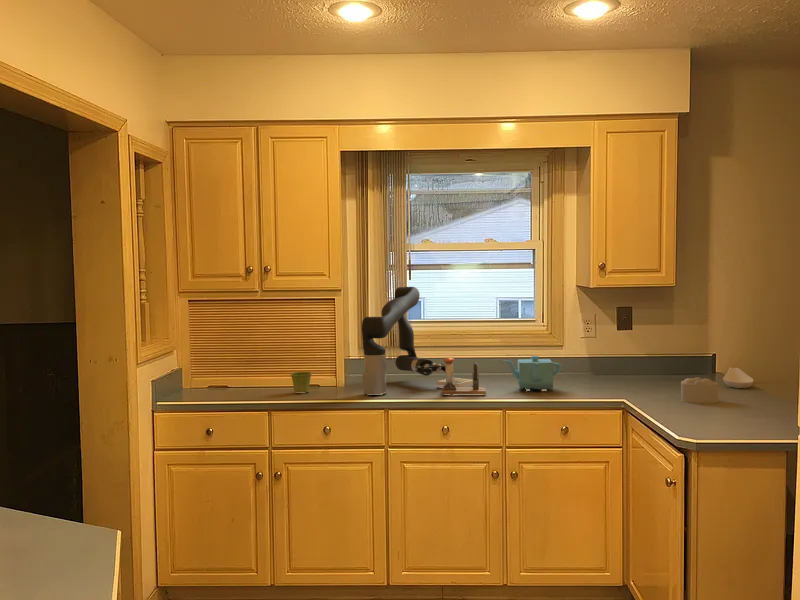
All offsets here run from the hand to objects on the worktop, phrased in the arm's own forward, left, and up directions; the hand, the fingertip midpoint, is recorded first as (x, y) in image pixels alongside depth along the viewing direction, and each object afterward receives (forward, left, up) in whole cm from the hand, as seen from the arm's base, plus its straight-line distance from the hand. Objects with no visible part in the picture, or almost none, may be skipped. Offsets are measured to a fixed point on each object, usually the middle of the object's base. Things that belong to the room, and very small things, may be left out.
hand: (439, 370), depth 311 cm
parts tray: (+12, 0, -9) cm, 15 cm away
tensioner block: (0, -13, -9) cm, 16 cm away
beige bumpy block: (+36, -98, -9) cm, 105 cm away
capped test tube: (-4, -8, -7) cm, 11 cm away
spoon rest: (+82, -99, -10) cm, 129 cm away
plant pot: (-37, +48, -9) cm, 61 cm away
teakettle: (+24, -32, -9) cm, 41 cm away
